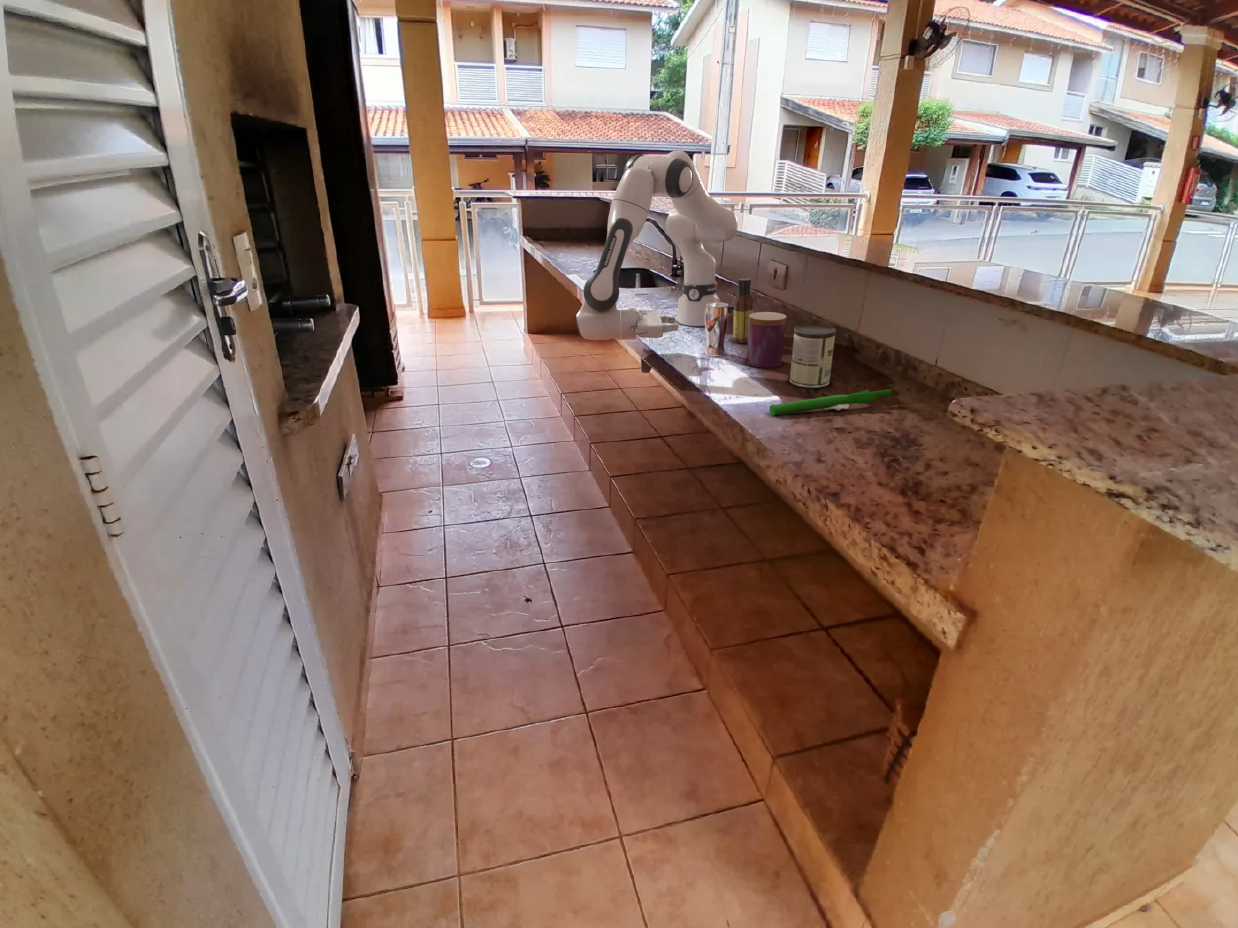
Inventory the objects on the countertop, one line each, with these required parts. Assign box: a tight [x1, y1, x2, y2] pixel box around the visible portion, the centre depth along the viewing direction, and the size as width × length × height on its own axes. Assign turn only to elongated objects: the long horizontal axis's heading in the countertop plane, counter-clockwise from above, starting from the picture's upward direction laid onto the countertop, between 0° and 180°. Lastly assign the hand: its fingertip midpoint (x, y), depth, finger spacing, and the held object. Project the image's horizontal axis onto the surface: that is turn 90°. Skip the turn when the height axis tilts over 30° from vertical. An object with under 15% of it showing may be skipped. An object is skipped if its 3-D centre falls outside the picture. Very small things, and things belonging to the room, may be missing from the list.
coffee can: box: [789, 323, 837, 389], centre depth 159 cm, size 10×10×14 cm
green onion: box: [769, 388, 892, 416], centre depth 144 cm, size 5×3×30 cm
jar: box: [745, 311, 787, 369], centre depth 176 cm, size 10×10×14 cm
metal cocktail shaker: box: [704, 301, 729, 358], centre depth 185 cm, size 7×7×15 cm
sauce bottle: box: [732, 277, 754, 344], centre depth 196 cm, size 7×6×20 cm
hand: (676, 323), depth 184 cm, fingers open, 8 cm apart
